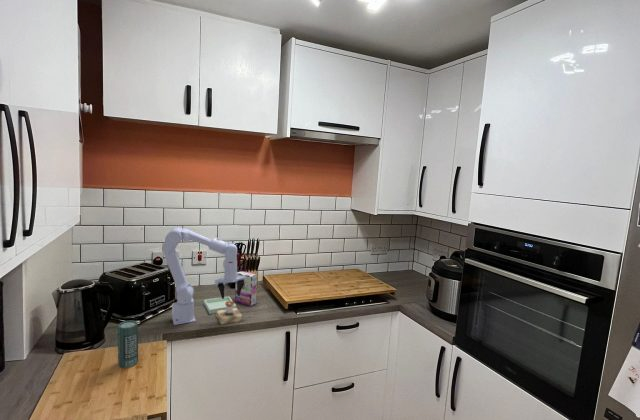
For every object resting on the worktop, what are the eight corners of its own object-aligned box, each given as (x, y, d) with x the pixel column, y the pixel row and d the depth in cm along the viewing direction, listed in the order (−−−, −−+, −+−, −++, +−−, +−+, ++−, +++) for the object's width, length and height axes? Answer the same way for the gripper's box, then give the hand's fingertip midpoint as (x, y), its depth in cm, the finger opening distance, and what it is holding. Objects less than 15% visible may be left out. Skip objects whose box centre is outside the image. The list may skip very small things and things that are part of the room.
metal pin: (226, 320, 163) (226, 305, 162) (223, 317, 166) (224, 301, 165) (234, 319, 165) (234, 303, 164) (232, 315, 168) (232, 300, 167)
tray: (209, 314, 168) (209, 309, 168) (204, 304, 179) (204, 299, 179) (236, 310, 175) (236, 305, 174) (229, 300, 186) (229, 296, 186)
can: (133, 356, 129) (133, 318, 128) (140, 363, 126) (140, 324, 124) (115, 362, 125) (115, 324, 123) (122, 370, 121) (122, 330, 119)
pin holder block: (221, 324, 159) (221, 319, 159) (216, 315, 167) (216, 310, 167) (242, 320, 164) (242, 315, 164) (236, 312, 172) (236, 307, 172)
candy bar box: (256, 303, 185) (257, 274, 183) (250, 306, 180) (251, 276, 178) (240, 298, 190) (241, 270, 188) (234, 301, 185) (235, 272, 183)
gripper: (217, 273, 155) (217, 302, 157) (248, 269, 163) (248, 297, 165) (213, 269, 161) (213, 297, 163) (243, 265, 169) (242, 292, 171)
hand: (230, 296), depth 165 cm, fingers open, 7 cm apart
